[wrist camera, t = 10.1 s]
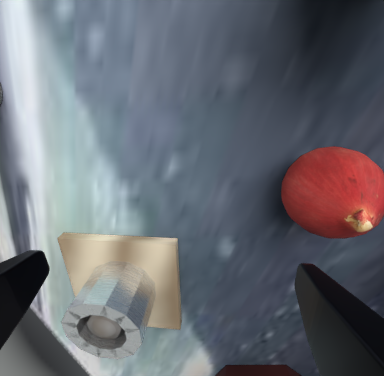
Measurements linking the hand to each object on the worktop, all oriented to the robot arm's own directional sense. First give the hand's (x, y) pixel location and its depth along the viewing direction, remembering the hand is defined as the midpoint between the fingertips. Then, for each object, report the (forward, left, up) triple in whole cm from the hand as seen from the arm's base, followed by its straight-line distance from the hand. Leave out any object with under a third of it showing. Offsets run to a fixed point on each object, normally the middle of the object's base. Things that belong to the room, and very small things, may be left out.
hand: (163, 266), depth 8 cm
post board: (+8, +13, -12) cm, 20 cm away
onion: (-9, 0, -12) cm, 15 cm away
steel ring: (+8, +13, -11) cm, 19 cm away
